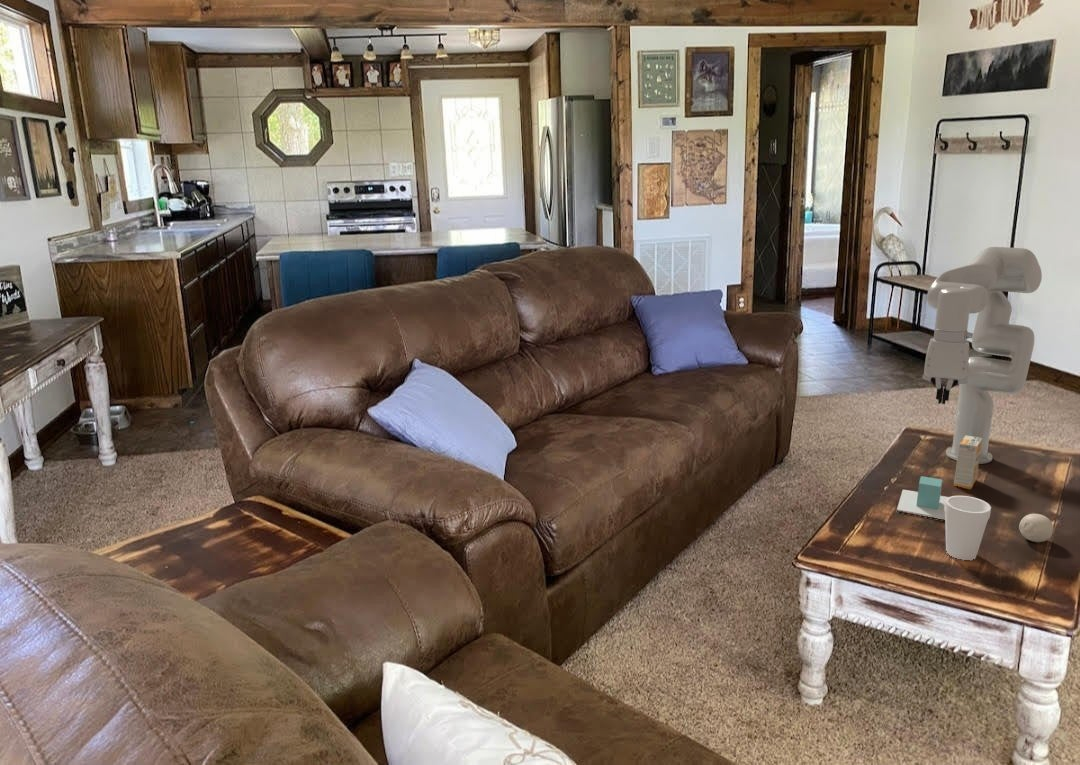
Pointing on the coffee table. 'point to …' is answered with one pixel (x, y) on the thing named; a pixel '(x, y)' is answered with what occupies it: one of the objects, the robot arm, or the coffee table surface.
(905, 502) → the white square plate
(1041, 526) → the off-white rounded piece
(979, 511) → the foam cup
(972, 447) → the supplement box
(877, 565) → the coffee table surface
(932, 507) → the teal block
